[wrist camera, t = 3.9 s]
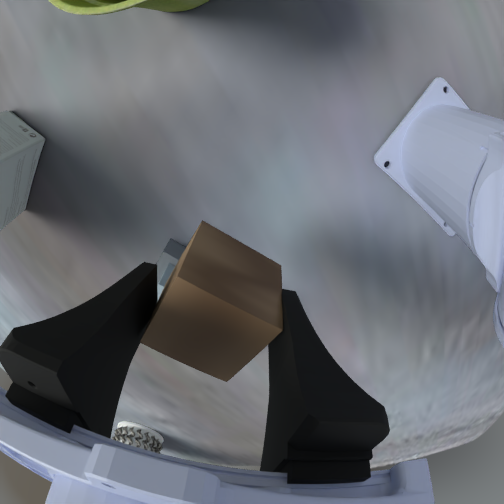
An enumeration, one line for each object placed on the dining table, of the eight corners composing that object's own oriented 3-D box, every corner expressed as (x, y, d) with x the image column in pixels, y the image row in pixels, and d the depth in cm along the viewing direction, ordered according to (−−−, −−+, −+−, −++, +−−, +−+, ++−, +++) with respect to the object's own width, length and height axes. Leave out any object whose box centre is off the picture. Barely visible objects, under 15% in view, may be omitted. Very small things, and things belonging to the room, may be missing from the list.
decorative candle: (117, 432, 45) (84, 544, 24) (113, 414, 40) (72, 544, 19) (164, 448, 46) (138, 562, 24) (167, 431, 41) (136, 567, 20)
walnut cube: (281, 265, 14) (282, 330, 10) (236, 318, 16) (226, 381, 12) (202, 220, 13) (177, 276, 9) (166, 282, 15) (139, 342, 11)
